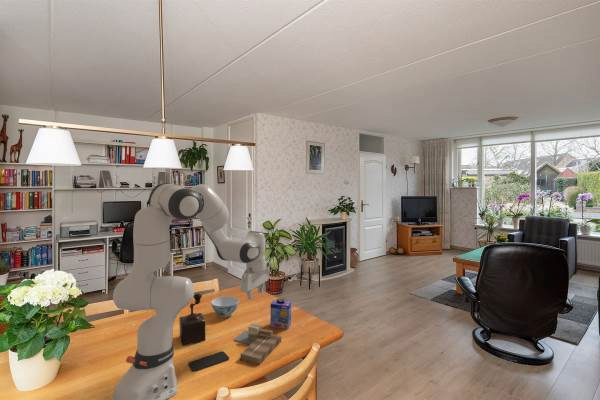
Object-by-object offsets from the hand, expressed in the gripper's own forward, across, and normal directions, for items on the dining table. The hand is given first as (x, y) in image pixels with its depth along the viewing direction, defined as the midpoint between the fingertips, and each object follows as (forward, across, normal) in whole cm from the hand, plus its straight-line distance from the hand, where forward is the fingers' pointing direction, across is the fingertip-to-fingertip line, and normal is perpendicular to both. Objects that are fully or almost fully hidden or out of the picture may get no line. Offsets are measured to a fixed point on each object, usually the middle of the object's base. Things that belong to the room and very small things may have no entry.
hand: (255, 295), depth 139 cm
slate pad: (+21, 0, +3) cm, 21 cm away
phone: (+21, -23, +8) cm, 32 cm away
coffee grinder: (+21, -9, +29) cm, 37 cm away
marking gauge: (+20, 0, -3) cm, 21 cm away
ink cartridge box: (+21, +17, -5) cm, 27 cm away
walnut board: (+21, -7, -7) cm, 23 cm away
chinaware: (+21, +17, +29) cm, 40 cm away
